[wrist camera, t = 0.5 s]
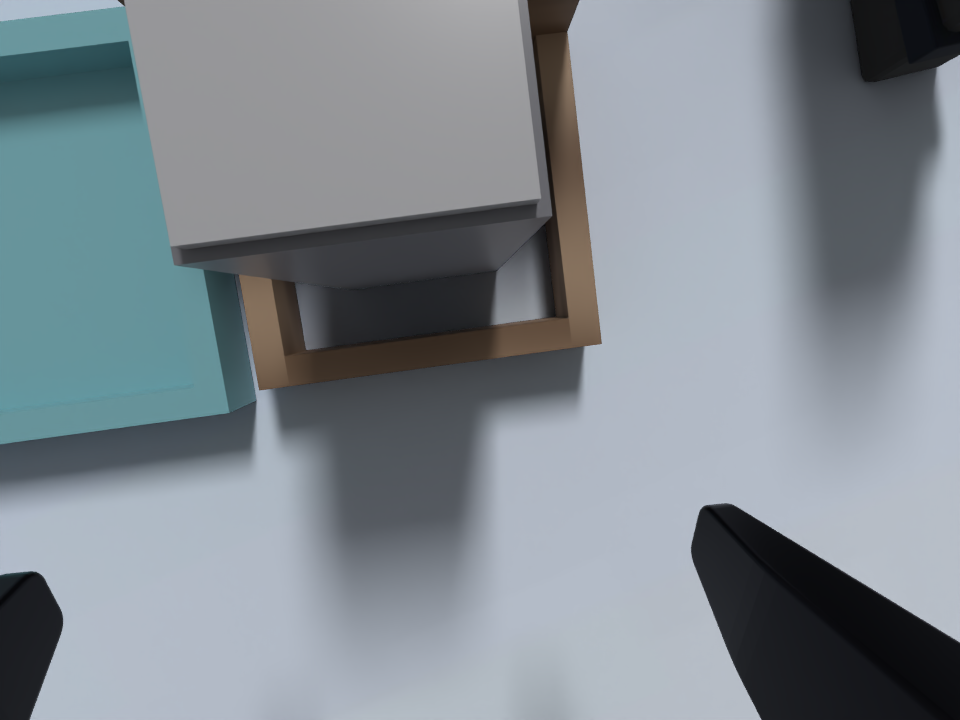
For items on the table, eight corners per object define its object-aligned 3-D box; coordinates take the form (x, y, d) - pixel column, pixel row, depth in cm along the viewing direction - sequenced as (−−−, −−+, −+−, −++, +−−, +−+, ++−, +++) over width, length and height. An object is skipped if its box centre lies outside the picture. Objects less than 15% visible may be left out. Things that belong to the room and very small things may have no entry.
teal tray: (256, 400, 21) (229, 413, 18) (-106, 449, 20) (-181, 468, 18) (192, 40, 19) (154, 2, 17) (-196, 87, 19) (-290, 56, 17)
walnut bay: (585, 339, 21) (661, 360, 13) (283, 380, 21) (172, 427, 13) (550, 36, 20) (610, -145, 12) (231, 76, 19) (72, -82, 12)
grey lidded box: (496, 270, 20) (557, 211, 8) (350, 289, 20) (158, 263, 7) (479, 133, 20) (511, -183, 7) (329, 152, 20) (83, -133, 7)
